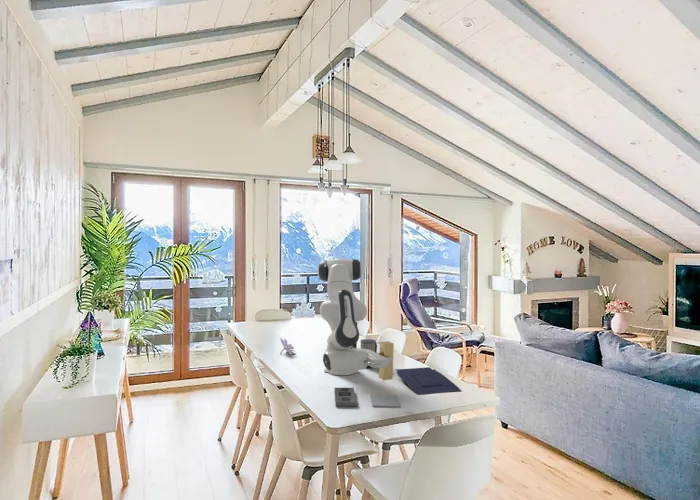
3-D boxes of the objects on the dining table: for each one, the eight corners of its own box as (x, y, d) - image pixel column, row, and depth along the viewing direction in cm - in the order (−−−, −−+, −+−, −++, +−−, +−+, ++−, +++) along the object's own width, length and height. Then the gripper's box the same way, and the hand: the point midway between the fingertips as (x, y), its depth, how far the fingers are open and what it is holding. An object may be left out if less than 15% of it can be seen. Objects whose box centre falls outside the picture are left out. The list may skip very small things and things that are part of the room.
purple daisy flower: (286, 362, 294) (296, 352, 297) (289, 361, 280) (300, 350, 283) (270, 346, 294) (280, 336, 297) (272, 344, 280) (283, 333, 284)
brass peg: (378, 377, 208) (379, 341, 207) (387, 376, 209) (388, 341, 209) (383, 380, 203) (384, 343, 203) (392, 379, 205) (393, 343, 205)
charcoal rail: (334, 391, 218) (334, 387, 218) (353, 391, 219) (353, 387, 219) (335, 406, 198) (335, 402, 198) (356, 407, 199) (356, 402, 199)
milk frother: (373, 369, 259) (374, 342, 259) (346, 366, 263) (347, 340, 263) (377, 362, 273) (378, 337, 273) (351, 360, 277) (352, 336, 276)
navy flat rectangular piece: (432, 371, 253) (432, 365, 253) (461, 396, 225) (462, 389, 225) (391, 374, 245) (392, 368, 245) (416, 400, 217) (417, 392, 217)
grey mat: (370, 396, 214) (370, 394, 214) (396, 396, 214) (396, 395, 214) (372, 406, 200) (372, 405, 200) (400, 407, 200) (400, 406, 200)
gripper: (370, 357, 192) (399, 355, 197) (350, 347, 210) (378, 345, 216) (370, 372, 192) (399, 370, 197) (350, 360, 210) (377, 358, 216)
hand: (388, 357), depth 207 cm, fingers closed on brass peg, 4 cm apart
